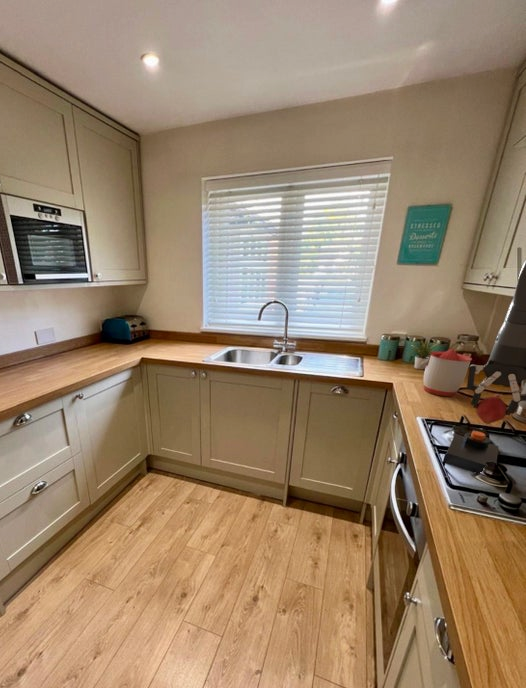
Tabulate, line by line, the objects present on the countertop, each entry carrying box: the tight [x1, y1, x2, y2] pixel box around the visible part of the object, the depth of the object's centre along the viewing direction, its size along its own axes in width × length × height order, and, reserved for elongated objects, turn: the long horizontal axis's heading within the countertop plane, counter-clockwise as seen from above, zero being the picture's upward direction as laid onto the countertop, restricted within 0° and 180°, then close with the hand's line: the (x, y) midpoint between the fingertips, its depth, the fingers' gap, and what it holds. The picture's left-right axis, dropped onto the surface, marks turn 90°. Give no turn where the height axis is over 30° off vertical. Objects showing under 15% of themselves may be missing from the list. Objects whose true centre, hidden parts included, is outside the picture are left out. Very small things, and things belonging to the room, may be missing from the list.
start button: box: [470, 430, 486, 441], centre depth 99 cm, size 3×3×2 cm
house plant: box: [410, 339, 440, 370], centre depth 182 cm, size 14×14×16 cm
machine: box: [443, 432, 500, 474], centre depth 96 cm, size 16×11×5 cm, turn 139°
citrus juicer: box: [422, 348, 473, 397], centre depth 146 cm, size 16×17×20 cm
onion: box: [475, 393, 508, 425], centre depth 81 cm, size 6×6×8 cm
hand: (490, 410), depth 81 cm, fingers closed on onion, 6 cm apart
